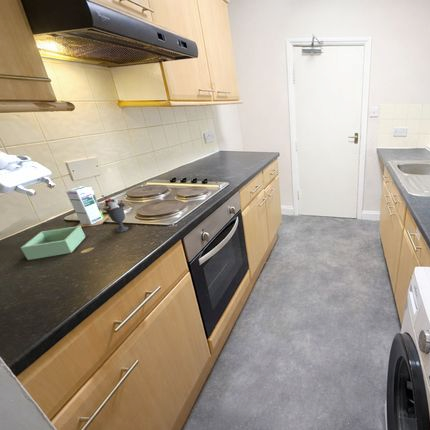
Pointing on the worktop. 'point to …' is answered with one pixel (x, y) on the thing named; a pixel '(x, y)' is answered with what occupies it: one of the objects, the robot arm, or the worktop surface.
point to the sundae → (115, 212)
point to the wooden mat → (94, 223)
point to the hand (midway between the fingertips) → (44, 190)
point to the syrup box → (85, 204)
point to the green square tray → (53, 242)
